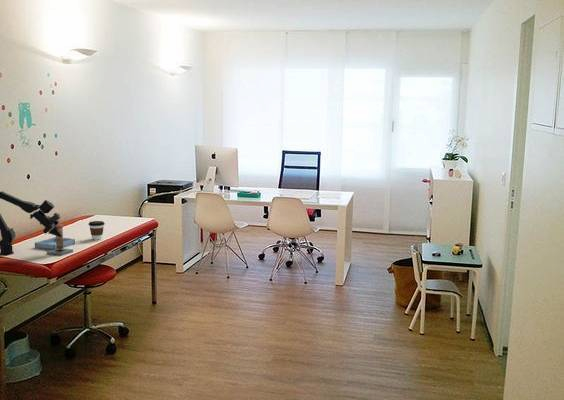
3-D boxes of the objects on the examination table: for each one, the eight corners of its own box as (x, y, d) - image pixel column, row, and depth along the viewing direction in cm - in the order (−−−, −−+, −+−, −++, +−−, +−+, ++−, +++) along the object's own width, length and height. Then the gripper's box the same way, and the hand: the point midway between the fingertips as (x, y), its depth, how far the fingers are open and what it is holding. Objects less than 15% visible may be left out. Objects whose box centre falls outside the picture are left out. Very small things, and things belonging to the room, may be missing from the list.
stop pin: (60, 249, 344) (59, 226, 342) (54, 248, 345) (53, 225, 343) (65, 247, 348) (64, 224, 346) (59, 247, 350) (58, 224, 347)
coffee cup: (100, 241, 383) (99, 224, 381) (85, 239, 385) (85, 223, 383) (107, 237, 393) (107, 221, 392) (94, 236, 395) (93, 220, 394)
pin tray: (54, 250, 354) (54, 244, 353) (34, 247, 359) (34, 242, 358) (74, 244, 372) (74, 238, 372) (56, 241, 377) (56, 236, 377)
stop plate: (61, 255, 340) (61, 253, 340) (46, 254, 344) (46, 251, 344) (73, 251, 351) (73, 249, 350) (59, 250, 354) (59, 247, 354)
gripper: (48, 212, 333) (67, 229, 337) (55, 207, 352) (74, 224, 355) (34, 224, 333) (54, 242, 337) (43, 219, 352) (61, 236, 355)
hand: (61, 235), depth 346 cm, fingers closed on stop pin, 4 cm apart
